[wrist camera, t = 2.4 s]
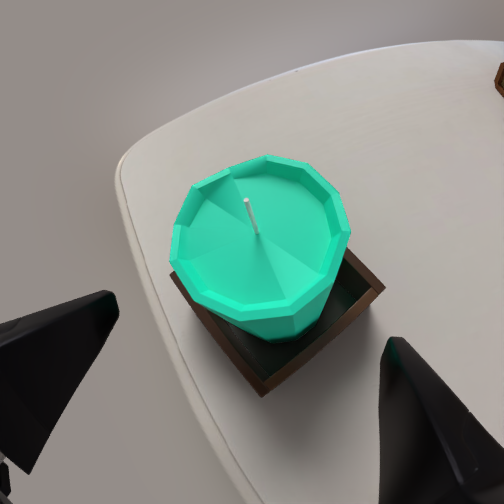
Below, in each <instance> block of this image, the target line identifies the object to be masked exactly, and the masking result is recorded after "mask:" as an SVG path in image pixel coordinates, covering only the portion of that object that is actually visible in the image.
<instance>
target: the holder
mask: <svg viewBox="0 0 504 504" xmlns="http://www.w3.org/2000/svg"><path fill="white" fill-rule="evenodd" d="M170 277H171V279H172V280H173V282H174V283H175V285H176V286H177V288H178V289H179V290H180V292H181V293H182V295H183V296H184V298H185V299H186V301H187V302H188V303H189V305H190V306H191V308H192V309H193V311H194V312H195V313H196V315H197V316H198V318H199V319H200V320H201V322H202V323H203V324H204V326H205V327H206V329H207V330H208V331H209V333H210V334H211V335H212V337H213V338H214V339H215V341H216V342H217V343H218V345H219V346H220V347H221V349H222V350H223V351H224V352H225V354H226V355H227V356H228V358H229V359H230V360H231V361H232V363H233V364H234V365H235V366H236V368H237V369H238V370H239V372H240V373H241V374H242V375H243V376H244V378H245V379H246V380H247V381H248V383H249V384H250V385H251V386H252V387H253V389H254V390H255V391H256V392H257V393H258V395H259V396H260V397H261V398H262V397H264V396H265V395H266V394H268V393H269V392H270V391H272V390H273V389H274V388H276V387H277V386H278V385H279V384H281V383H282V382H283V381H285V380H286V379H287V378H288V377H290V376H291V375H292V374H293V373H295V372H296V371H297V370H298V369H299V368H301V367H302V366H303V365H304V364H305V363H307V362H308V361H309V360H310V359H311V358H313V357H314V356H315V355H316V354H317V353H318V352H320V351H321V350H322V349H323V348H324V347H325V346H326V345H327V344H329V343H330V342H331V341H332V340H333V339H334V338H335V337H336V336H337V335H339V334H340V333H341V332H342V331H343V330H344V329H345V328H346V327H347V326H348V325H349V324H350V323H351V322H352V321H353V320H355V319H356V318H357V317H358V316H359V315H360V314H361V313H362V312H363V311H364V310H365V309H366V308H367V307H368V306H369V305H370V304H371V303H372V302H373V301H374V300H375V299H376V298H377V297H378V295H379V294H380V293H381V292H382V291H383V290H384V289H385V288H386V287H385V286H384V285H383V284H382V283H381V281H380V280H379V279H378V278H377V277H376V276H375V275H374V274H373V273H372V272H371V271H370V270H369V269H368V268H367V267H366V266H365V265H364V264H363V263H362V262H361V261H360V260H359V259H358V258H357V257H356V256H355V255H354V254H353V253H352V252H351V251H350V250H349V249H348V248H347V247H346V249H345V252H344V255H343V258H342V261H341V264H340V267H339V270H338V273H337V276H336V278H335V279H336V280H337V281H338V282H339V283H340V284H341V285H342V286H343V287H344V288H345V289H346V290H347V291H348V292H349V294H350V295H351V296H352V297H353V298H354V299H355V300H356V301H357V302H356V303H355V304H354V305H353V306H352V307H351V308H350V309H349V310H347V311H346V312H345V313H344V314H343V315H342V316H341V317H340V318H339V319H338V320H337V321H336V322H335V323H334V324H332V325H331V326H330V327H329V328H328V329H327V330H326V331H325V332H324V333H322V334H321V335H320V336H319V337H318V338H317V339H316V340H314V341H313V342H312V343H311V344H310V345H309V346H307V347H306V348H305V349H304V350H303V351H302V352H300V353H299V354H298V355H297V356H296V357H294V358H293V359H292V360H291V361H290V362H288V363H287V364H286V365H285V366H283V367H282V368H281V369H280V370H278V371H277V372H276V373H275V374H273V375H272V376H271V377H270V376H269V375H268V374H267V373H266V372H265V370H264V369H263V368H262V367H261V366H260V364H259V363H258V362H257V361H256V359H255V358H254V357H253V356H252V355H251V353H250V352H249V351H248V350H247V348H246V347H245V346H244V345H243V343H242V342H241V341H240V340H239V338H238V337H237V336H236V335H235V333H234V332H233V331H232V330H231V328H230V327H229V326H228V324H227V323H226V322H225V321H224V319H223V318H221V317H220V316H218V315H216V314H215V313H213V312H211V311H210V310H208V309H207V308H205V307H203V306H202V305H200V304H199V303H197V302H195V301H194V300H193V299H192V297H191V296H190V294H189V292H188V291H187V289H186V288H185V286H184V285H183V283H182V282H181V280H180V278H179V277H178V275H177V274H176V272H175V270H174V271H173V272H172V273H171V274H170Z"/></svg>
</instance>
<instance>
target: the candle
mask: <svg viewBox="0 0 504 504" xmlns="http://www.w3.org/2000/svg"><path fill="white" fill-rule="evenodd" d="M350 234H351V229H350V226H349V223H348V219H347V216H346V213H345V210H344V207H343V204H342V201H341V198H340V195H339V192H338V191H337V190H336V189H335V188H334V187H333V186H332V185H331V184H330V183H329V182H328V181H326V180H325V179H324V178H323V177H322V176H321V175H320V174H319V173H318V172H317V171H316V170H315V169H314V168H313V167H311V166H310V165H309V164H308V163H305V162H300V161H296V160H291V159H287V158H282V157H278V156H273V155H268V154H267V155H264V156H261V157H258V158H255V159H252V160H249V161H246V162H243V163H240V164H237V165H234V166H231V167H229V168H226V169H224V170H222V171H220V172H218V173H216V174H214V175H212V176H210V177H208V178H206V179H204V180H202V181H200V182H198V183H196V184H194V185H192V186H191V189H190V191H189V193H188V195H187V197H186V199H185V201H184V203H183V205H182V208H181V210H180V212H179V214H178V216H177V219H176V221H175V223H174V227H173V235H172V243H171V251H170V260H169V262H170V264H171V266H172V267H173V269H174V270H175V272H176V274H177V275H178V277H179V278H180V280H181V282H182V283H183V285H184V286H185V288H186V289H187V291H188V292H189V294H190V296H191V297H192V299H193V300H194V301H195V302H197V303H199V304H200V305H202V306H203V307H205V308H207V309H208V310H210V311H211V312H213V313H215V314H216V315H218V316H220V317H221V318H223V319H225V320H226V321H228V322H230V323H232V324H233V325H235V326H237V327H238V328H240V329H242V330H244V331H245V332H247V333H249V334H251V335H253V336H255V337H258V338H260V339H262V340H265V341H267V342H269V343H272V344H274V343H281V342H289V341H296V340H298V339H299V338H300V337H302V336H303V335H304V334H305V333H307V332H308V331H309V330H311V329H312V328H313V327H314V326H316V323H317V321H318V319H319V317H320V314H321V312H322V310H323V308H324V305H325V303H326V301H327V298H328V296H329V293H330V291H331V289H332V286H333V284H334V281H335V278H336V276H337V273H338V270H339V267H340V264H341V261H342V258H343V255H344V252H345V249H346V246H347V243H348V240H349V237H350Z"/></svg>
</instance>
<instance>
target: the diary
mask: <svg viewBox="0 0 504 504" xmlns="http://www.w3.org/2000/svg"><path fill="white" fill-rule="evenodd" d="M494 82H495V88H496V89H497V90H498V91H499V92H500V94H501V95H502V96H503V97H504V62H503V63H501V64H500V67H499V70H498V72H497V75H496V77H495V80H494Z"/></svg>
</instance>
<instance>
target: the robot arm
mask: <svg viewBox="0 0 504 504" xmlns="http://www.w3.org/2000/svg"><path fill="white" fill-rule="evenodd" d="M118 318H119V308H118V304H117V300H116V296H115V294H114V293H113V292H111V291H107V290H102V291H99V292H96V293H93V294H89V295H87V296H84V297H81V298H77V299H74V300H72V301H68V302H65V303H62V304H59V305H56V306H53V307H50V308H47V309H44V310H41V311H38V312H36V313H32V314H29V315H26V316H23V317H22V318H21V317H20V318H17V319H14V320H11V321H8V322H5V323H2V324H0V504H13V503H11V501H10V500H9V499H8V498H7V497H8V495H9V494H10V492H11V487H10V479H9V469H8V466H7V464H6V463H4V461H3V460H4V459H5V457H7V458H8V459H10V460H11V461H12V462H13V463H14V464H15V465H17V466H18V467H19V468H20V469H22V470H23V471H24V472H25V473H27V474H28V475H29V474H30V473H31V471H32V469H33V467H34V465H35V463H36V461H37V459H38V457H39V455H40V453H41V451H42V449H43V447H44V445H45V444H46V442H47V440H48V438H49V436H50V434H51V432H52V430H53V429H54V427H55V425H56V423H57V421H58V419H59V418H60V416H61V414H62V413H63V411H64V409H65V407H66V406H67V404H68V402H69V401H70V399H71V397H72V396H73V394H74V392H75V391H76V389H77V387H78V386H79V384H80V382H81V381H82V379H83V378H84V376H85V374H86V373H87V371H88V370H89V368H90V367H91V365H92V363H93V362H94V360H95V359H96V357H97V356H98V354H99V353H100V351H101V349H102V347H103V346H104V344H105V342H106V340H107V338H108V336H109V334H110V332H111V330H112V329H113V327H114V325H115V323H116V321H117V320H118ZM378 408H379V434H380V483H379V504H504V448H503V447H502V446H501V445H500V444H499V443H498V442H497V441H496V440H495V439H494V438H493V437H492V436H491V435H490V434H489V433H488V432H487V430H486V429H485V428H484V427H483V426H482V425H481V424H480V422H479V421H478V420H477V419H476V418H475V417H474V415H473V414H472V413H471V412H469V410H468V409H467V407H466V406H465V405H464V404H463V403H462V402H461V400H460V399H459V398H458V397H457V396H456V395H455V394H454V392H453V391H452V390H451V389H450V388H449V387H448V386H447V384H446V383H445V382H444V381H443V380H442V379H441V378H440V377H439V376H438V374H437V373H436V372H435V371H434V370H433V369H432V368H431V367H430V366H429V365H428V364H427V362H426V361H425V360H424V359H423V358H422V357H421V356H420V355H419V354H418V353H417V352H416V351H415V350H414V349H413V347H412V346H411V345H410V344H409V343H408V342H407V341H406V340H405V339H404V338H402V337H390V338H389V339H388V341H387V344H386V346H385V349H384V351H383V354H382V356H381V360H380V384H379V407H378Z"/></svg>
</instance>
